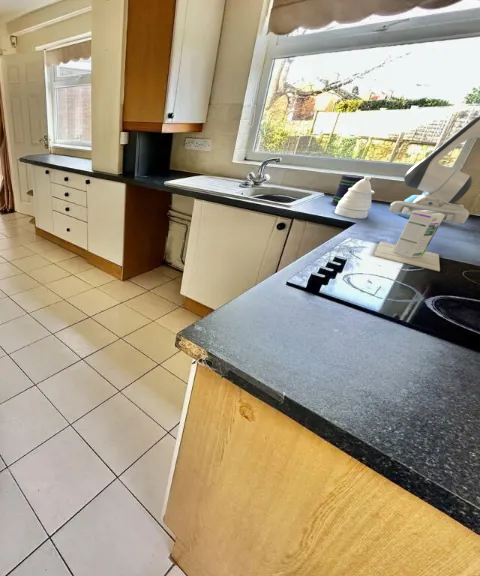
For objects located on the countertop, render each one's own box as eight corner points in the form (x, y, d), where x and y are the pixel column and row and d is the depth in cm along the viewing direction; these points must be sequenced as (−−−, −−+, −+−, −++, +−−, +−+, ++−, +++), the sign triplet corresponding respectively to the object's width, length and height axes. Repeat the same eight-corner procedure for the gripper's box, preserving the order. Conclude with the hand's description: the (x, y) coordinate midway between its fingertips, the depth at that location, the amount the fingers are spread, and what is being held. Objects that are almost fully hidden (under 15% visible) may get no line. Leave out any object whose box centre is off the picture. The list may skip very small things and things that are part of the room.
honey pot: (369, 220, 146) (388, 179, 137) (336, 215, 150) (353, 176, 142) (362, 213, 156) (380, 175, 147) (332, 209, 161) (347, 172, 152)
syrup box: (410, 258, 103) (435, 214, 96) (391, 251, 108) (413, 209, 101) (422, 257, 105) (447, 214, 98) (402, 250, 110) (425, 209, 103)
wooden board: (438, 254, 108) (438, 254, 108) (439, 271, 95) (440, 270, 95) (380, 242, 118) (380, 241, 118) (373, 255, 105) (374, 254, 105)
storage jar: (326, 202, 176) (337, 174, 169) (341, 202, 178) (353, 174, 170) (341, 207, 167) (354, 177, 160) (357, 207, 169) (370, 178, 162)
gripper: (395, 195, 122) (392, 200, 113) (470, 205, 110) (473, 212, 101) (387, 211, 125) (383, 217, 116) (459, 223, 113) (462, 231, 104)
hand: (426, 215), depth 108 cm, fingers open, 8 cm apart
